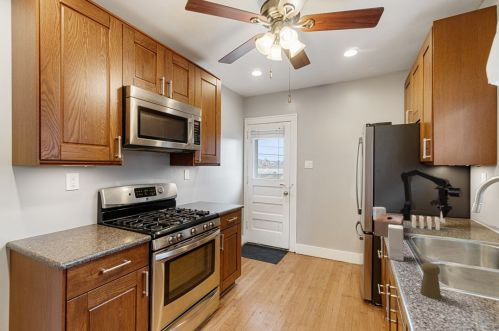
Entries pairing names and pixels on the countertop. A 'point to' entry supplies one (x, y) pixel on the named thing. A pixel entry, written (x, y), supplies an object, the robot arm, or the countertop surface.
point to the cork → (430, 281)
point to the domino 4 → (442, 217)
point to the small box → (378, 211)
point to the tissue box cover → (386, 223)
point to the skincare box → (395, 242)
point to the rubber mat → (427, 228)
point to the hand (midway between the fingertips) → (442, 217)
